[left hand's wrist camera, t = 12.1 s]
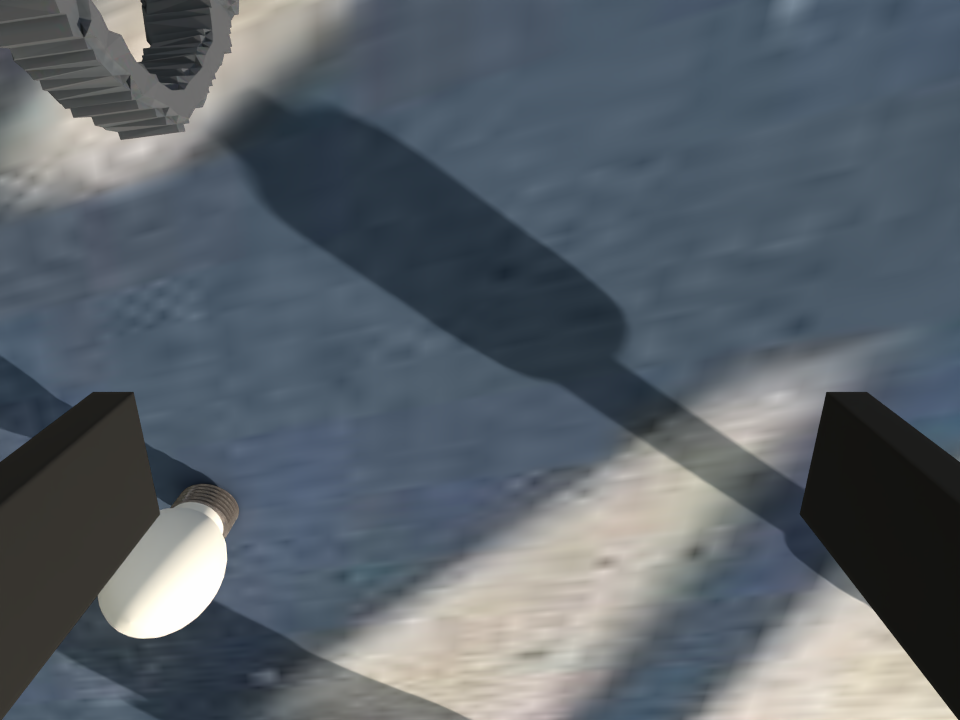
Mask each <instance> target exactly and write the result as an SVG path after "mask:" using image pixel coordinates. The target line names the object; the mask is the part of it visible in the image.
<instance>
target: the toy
mask: <svg viewBox="0 0 960 720" xmlns="http://www.w3.org/2000/svg"><path fill="white" fill-rule="evenodd" d="M141 3H142V11H143V18H144V25H145V32H146V39H147V42H148V43H149V44H150V45H151V46H150V48H144V49H143V53H144V55H143V56H142V58H143V60H142V62H136V61H135V59H134V57H133V56H132V54H131V53H130V51H129V49H128V47H127V45H126V43H125V41H124V39H123V37H122V35H120V34H117V33H114V32H112V31H109V30H108V28H107V26H106V24H105V22H104V20H103V18H102V15H101V13H100V12H99V11H98V9H97V8H96V6H95V5H94V3H93V2H92V1H91V0H0V47H1V48H9V49H10V51H11V53H12V57H13V60H14V61H15V62H16V63H17V64H18V65H19V66H20V67H22V68H23V69H24V70H26V71H27V73H28V74H29V75H30V76H31V77H32V79H33V80H40V83H41V86H42V89H43V90H45V91H48V92H49V93H50V94H51V95H52V96H53V97H54V98H55V99H56V100H57V101H58V102H59V103H60V104H62V105H63V107H64V108H65V109H68V108H70V109H71V112H72V115H73V118H78V117H92V119H93V122H94V124H95V126H100V127H103V128H104V129H105V130H109V131H115V132H118V133H119V136H120V139H121V140H124V139H132V138H139V137H147V136H154V135H162V134H169V133H177V132H184V131H185V128H184V125H183V124H186V123H189V118H190V116H191V114H192V113H193V111H194V109H195V108H200V107H203V105H204V103H205V101H206V97H207V93H209V86H213V85H212V79H216V78H215V72H217V70H218V68H219V66H221V65H222V61H223V57H224V54H227V53H231V49H230V47H232V44H231V40H230V36H229V34H231V32H230V27H231V20H232V18H233V16H234V15H237V14H239V0H141Z"/></svg>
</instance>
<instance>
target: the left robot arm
mask: <svg viewBox="0 0 960 720" xmlns="http://www.w3.org/2000/svg"><path fill="white" fill-rule="evenodd" d="M159 515H160V511H159V506H158V502H157V497H156V493H155V488H154V484H153V479H152V474H151V470H150V465H149V461H148V456H147V451H146V447H145V442H144V438H143V433H142V429H141V424H140V419H139V415H138V410H137V406H136V401H135V397H134V392H92V393H91V394H90V395H89V396H87V397H86V398H85V399H83V400H82V401H81V402H79V403H78V404H77V405H75V406H74V407H73V408H71V409H70V410H69V411H67V412H66V413H65V414H63V415H62V416H61V417H59V418H58V419H57V420H55V421H54V422H53V423H51V424H50V425H49V426H47V427H46V428H45V429H43V430H42V431H41V432H40V433H38V434H37V435H36V436H34V437H33V438H32V439H30V440H29V441H28V442H26V443H25V444H24V445H22V446H21V447H20V448H18V449H17V450H16V451H14V452H13V453H12V454H10V455H9V456H8V457H6V458H5V459H4V460H2V461H1V462H0V720H2V719H3V717H4V716H5V715H6V713H7V712H8V711H9V710H10V708H11V707H12V706H13V704H14V703H15V702H16V701H17V699H18V698H19V697H20V695H21V694H22V693H23V691H24V690H25V689H26V688H27V686H28V685H29V684H30V682H31V681H32V680H33V678H34V677H35V676H36V675H37V673H38V672H39V671H40V669H41V668H42V667H43V666H44V664H45V663H46V662H47V660H48V659H49V658H50V656H51V655H52V654H53V653H54V651H55V650H56V649H57V647H58V646H59V645H60V644H61V642H62V641H63V640H64V638H65V637H66V636H67V634H68V633H69V632H70V631H71V629H72V628H73V627H74V625H75V624H76V623H77V621H78V620H79V619H80V618H81V616H82V615H83V614H84V612H85V611H86V610H87V609H88V607H89V606H90V605H91V603H92V602H93V601H94V599H95V598H96V597H97V596H98V594H99V593H100V592H101V590H102V589H103V588H104V586H105V585H106V584H107V583H108V581H109V580H110V579H111V577H112V576H113V575H114V574H115V572H116V571H117V570H118V568H119V567H120V566H121V564H122V563H123V562H124V561H125V559H126V558H127V557H128V555H129V554H130V553H131V551H132V550H133V549H134V548H135V546H136V545H137V544H138V542H139V541H140V540H141V539H142V537H143V536H144V535H145V533H146V532H147V531H148V529H149V528H150V527H151V526H152V524H153V523H154V522H155V520H156V519H157V518H158V517H159ZM800 515H801V517H802V518H803V519H804V520H805V522H806V523H807V524H808V526H809V527H810V528H811V529H812V531H813V532H814V533H815V535H816V536H817V537H818V539H819V540H820V541H821V542H822V544H823V545H824V546H825V548H826V549H827V550H828V551H829V553H830V554H831V555H832V557H833V558H834V559H835V561H836V562H837V563H838V564H839V566H840V567H841V568H842V570H843V571H844V572H845V574H846V575H847V576H848V577H849V579H850V580H851V581H852V583H853V584H854V585H855V586H856V588H857V589H858V590H859V592H860V593H861V594H862V596H863V597H864V598H865V599H866V601H867V602H868V603H869V605H870V606H871V607H872V609H873V610H874V611H875V612H876V614H877V615H878V616H879V618H880V619H881V620H882V621H883V623H884V624H885V625H886V627H887V628H888V629H889V631H890V632H891V633H892V634H893V636H894V637H895V638H896V640H897V641H898V642H899V644H900V645H901V646H902V647H903V649H904V650H905V651H906V653H907V654H908V655H909V656H910V658H911V659H912V660H913V662H914V663H915V664H916V666H917V667H918V668H919V669H920V671H921V672H922V673H923V675H924V676H925V677H926V678H927V680H928V681H929V682H930V684H931V685H932V686H933V688H934V689H935V690H936V691H937V693H938V694H939V695H940V697H941V698H942V699H943V701H944V702H945V703H946V704H947V706H948V707H949V708H950V710H951V711H952V712H953V713H954V715H955V716H956V717H957V719H958V720H960V462H959V461H958V460H956V459H955V458H954V457H952V456H951V455H950V454H948V453H947V452H946V451H944V450H943V449H942V448H940V447H939V446H938V445H936V444H935V443H934V442H932V441H931V440H930V439H928V438H927V437H926V436H924V435H923V434H922V433H920V432H919V431H918V430H917V429H915V428H914V427H913V426H911V425H910V424H909V423H907V422H906V421H905V420H903V419H902V418H901V417H899V416H898V415H897V414H895V413H894V412H893V411H891V410H890V409H889V408H887V407H886V406H885V405H883V404H882V403H881V402H879V401H878V400H877V399H875V398H874V397H873V396H871V395H870V394H869V393H868V392H826V397H825V401H824V406H823V410H822V415H821V419H820V424H819V429H818V433H817V438H816V442H815V447H814V451H813V456H812V461H811V465H810V470H809V474H808V479H807V484H806V488H805V493H804V497H803V502H802V506H801V511H800Z"/></svg>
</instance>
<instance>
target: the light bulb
mask: <svg viewBox="0 0 960 720" xmlns="http://www.w3.org/2000/svg"><path fill="white" fill-rule="evenodd" d="M159 511H160V515H159V517H158V518H157V519H156V520H155V522H154V523H153V524H152V526H151V527H150V528H149V529H148V531H147V532H146V533H145V535H144V536H143V537H142V539H141V540H140V541H139V542H138V544H137V545H136V546H135V548H134V549H133V550H132V551H131V553H130V554H129V555H128V557H127V558H126V559H125V561H124V562H123V563H122V564H121V566H120V567H119V568H118V570H117V571H116V572H115V574H114V575H113V576H112V577H111V579H110V580H109V581H108V583H107V584H106V585H105V586H104V588H103V589H102V590H101V592H100V593H99V594H98V600H99V606H100V609H101V611H102V613H103V615H104V617H105V618H106V620H107V621H108V623H109V624H110V625H111V626H112V627H113V628H115V629H116V630H117V631H119V632H121V633H122V634H124V635H127V636H130V637H134V638H143V639H144V638H157V637H161V636H165V635H168V634H170V633H173V632H175V631H177V630H180V629H181V628H183V627H184V626H186V625H187V624H189V623H190V622H192V621H193V620H194V619H196V618H197V617H198V616H199V615H200V614H201V613H202V612H203V611H204V610H205V609H206V607H207V606H208V605H209V604H210V603H211V601H212V600H213V598H214V597H215V595H216V593H217V591H218V589H219V587H220V585H221V582H222V580H223V578H224V573H225V568H226V562H227V552H226V543H225V540H224V538H225V537H226V536H227V534H228V533H229V531H230V529H231V527H232V526H233V524H234V522H235V520H236V519H237V517H238V514H239V508H238V504H237V502H236V500H235V499H234V498H233V497H232V496H231V495H230V494H229V493H228V492H227V491H225V490H223V489H221V488H219V487H217V486H213V485H209V484H197V485H193V486H190V487H188V488H186V489H185V490H184V491H183V492H182V493H181V495H180V496H179V497H178V498H177V500H176V501H175V502H174V504H173V505H172V506H171V508H167V509H163V510H159Z"/></svg>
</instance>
